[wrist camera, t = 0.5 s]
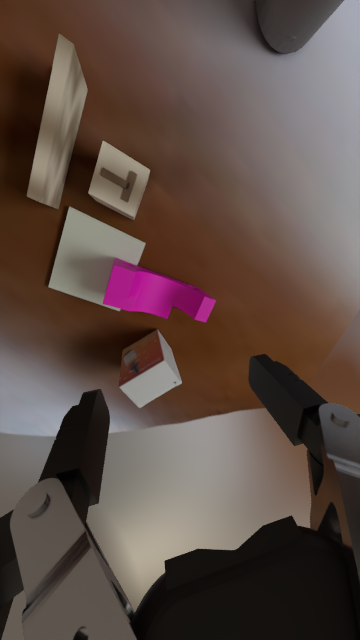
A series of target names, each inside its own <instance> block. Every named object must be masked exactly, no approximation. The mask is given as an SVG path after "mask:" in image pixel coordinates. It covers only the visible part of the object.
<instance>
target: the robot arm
mask: <svg viewBox="0 0 360 640" xmlns="http://www.w3.org/2000/svg"><path fill="white" fill-rule="evenodd" d="M343 1H344V0H256V10H257V18H258V21H259V25H260V29H261V31H262V33H263V35H264V38H265V39H266V41H267V42H268V43H269V45H270V46H271V47H272V48H274V49H275V50H276V51H278V52H281V53H287V54H289V53H293V52H296V51H297V50H299V49H300V48H302V47H303V46H304V45H305V44H306V43H307V42H308V41H309V39H310V38H311V37H312V36H313V35H314V34H315V33H316V32H317V30H318V29H319V28H320V27H321V26H322V25H323V24H324V22H325V21H326V20H327V19H328V18H329V17H330V16H331V15H332V14H333V12H334V11H335V10H336V9H337V8H338V7H339V6H340V5H341V3H342V2H343ZM249 384H250V386H251V388H252V390H253V391H254V393H255V394H256V395H257V397H258V398H259V399H260V401H261V402H262V403H263V405H264V406H265V407H266V409H267V410H268V411H269V413H270V414H271V415H272V417H273V418H274V420H275V421H276V422H277V424H278V425H279V426H280V427H281V429H282V430H283V432H284V433H285V434H286V436H287V437H288V438H289V440H290V441H291V442H292V444H293V445H294V446H296V445H300V444H303V443H304V445H305V446H306V447H307V461H308V472H309V482H310V492H311V511H310V528H306V527H302V526H297V524H296V522H295V520H294V519H293V517H292V516H289V517H286V518H283V519H280V520H278V521H275V522H272V523H269V524H267V525H264V526H262V527H261V528H260V529H259V530H258V531H257V532H255V533H254V534H253V535H252V536H251V537H250V538H249V539H248V540H247V541H246V542H244V543H243V544H242V545H241V546H240V547H239V548H238V549H236V550H211V549H196V550H194V551H191V552H188V553H185V554H182V555H180V556H177V557H174V558H171V559H168V560H165V573H164V574H163V575H162V576H160V577H159V578H158V580H157V581H156V582H155V583H154V584H153V585H152V586H151V588H150V589H149V590H148V592H147V593H146V594H145V596H144V597H143V599H142V601H141V603H140V605H139V606H138V608H137V610H136V612H134V610H133V608H132V606H131V604H130V602H129V600H128V598H127V596H126V595H125V593H124V591H123V589H122V587H121V585H120V584H119V582H118V580H117V579H116V577H115V575H114V573H113V571H112V570H111V568H110V566H109V564H108V562H107V560H106V558H105V556H104V554H103V552H102V550H101V548H100V546H99V545H98V543H97V541H96V539H95V537H94V535H93V533H92V531H91V529H90V527H89V525H88V523H87V522H86V518H87V513H88V507H89V506H91V505H95V504H98V503H99V496H100V489H101V482H102V474H103V467H104V460H105V452H106V446H107V439H108V432H109V425H110V415H109V410H108V407H107V405H106V402H105V399H104V396H103V393H102V391H101V389H97V390H93V391H88V392H84V393H83V394H82V397H81V400H80V403H79V405H76V406H72V408H71V409H70V410H69V411H68V413H67V414H66V415H65V416H64V418H63V421H62V423H61V426H60V430H59V431H58V434H57V436H56V440H55V441H54V444H53V446H52V449H51V451H50V454H49V456H48V459H47V462H46V464H45V467H44V469H43V472H42V474H41V477H40V479H39V481H38V483H37V484H36V485H34V486H33V487H32V488H30V489H29V490H28V491H27V492H26V493H25V494H24V496H23V497H22V498H21V499H20V500H19V502H18V504H17V505H16V507H15V509H14V510H12V511H11V512H9V513H8V514H6V515H4V516H2V517H1V518H0V640H1V638H2V635H3V632H4V628H5V625H6V621H7V618H8V615H9V611H10V608H11V605H12V602H13V598H14V597H15V596H16V595H17V594H19V593H20V592H21V591H23V590H24V591H25V595H26V608H25V609H24V611H23V614H22V628H23V635H24V640H360V414H356V413H354V412H353V411H351V410H350V409H348V408H346V407H344V406H341V405H338V404H334V403H328V402H327V401H326V400H324V399H323V398H322V397H321V396H320V395H319V394H318V393H316V392H315V391H314V390H313V389H312V388H311V387H310V386H308V385H307V384H306V383H305V382H304V381H303V380H301V379H300V378H299V377H298V376H297V375H296V374H294V372H293V371H291V370H290V369H289V368H288V367H287V366H285V365H283V364H281V363H279V362H277V361H275V362H274V361H273V360H271V359H270V358H269V357H268V356H267V355H266V354H262V355H257V356H253V357H251V358H250V364H249Z"/></svg>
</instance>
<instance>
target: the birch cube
mask: <svg viewBox="0 0 360 640" xmlns="http://www.w3.org/2000/svg"><path fill="white" fill-rule="evenodd" d="M149 173H150V170H149V169H148V168H146V167H144V166H143V165H141V164H140V163H138V162H136V161H135V160H133V159H132V158H130V157H128V156H127V155H125V154H124V153H122V152H121V151H119V150H117V149H116V148H114V147H113V146H111V145H109V144H108V143H106V142H105V141H103V142H102V146H101V149H100V153H99V157H98V160H97V164H96V167H95V171H94V174H93V178H92V181H91V185H90V188H89V192H88V193H89V194H90V195H91V196H92V197H93V198H94V199H95V200H96V201H97V202H99V203H101V204H103V205H105V206H106V207H108V208H110V209H112V210H114V211H116V212H118V213H120V214H122V215H124V216H126V217H128V218H130V219H132V220H134V218H135V216H136V213H137V210H138V207H139V204H140V201H141V199H142V196H143V193H144V190H145V187H146V184H147V181H148V177H149Z"/></svg>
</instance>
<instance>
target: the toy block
mask: <svg viewBox="0 0 360 640" xmlns="http://www.w3.org/2000/svg"><path fill="white" fill-rule="evenodd" d="M215 302H216V300H215V299H213V298H212V297H210V296H209V295H208V294H206V293H205V292H203V291H202V290H201V289H199V288H197V287H195V286H192V285H189V284H186V283H184V282H181V281H178V280H175V279H173V278H170V277H167V276H165V275H162V274H159V273H156V272H154V271H151V270H148V269H145V268H143V267H140V266H137V265H134V264H132V263H129V262H126V261H124V260H121V259H118V258H115V260H114V263H113V267H112V270H111V274H110V278H109V281H108V285H107V288H106V292H105V295H104V300H103V304H105V305H108V306H112V307H116V308H120V309H123V310H127V311H140V312H147V313H151V314H155V315H158V316H161V317H163V318H166V319H167V318H168V316H169V313H170V311H171V308H172V306H174V307H176V308H178V309H180V310H182V311H184V312H186V313H187V314H189V315H190V316H191V317H193V318H194V319H196V320H199V321H202V322H206V321H207V319H208V317H209V314H210V312H211V310H212V308H213V306H214V304H215Z"/></svg>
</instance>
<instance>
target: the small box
mask: <svg viewBox="0 0 360 640" xmlns="http://www.w3.org/2000/svg"><path fill="white" fill-rule="evenodd" d="M180 384H182V381H181V378H180V375H179V372H178V369H177V366H176V363H175V360H174V356H173V353H172V350H171V348H170V347H169V345H168V344H167V342H166V341H165V339H164V338H163V336H162V335H161V334H160V332H159V331H158V329H156V330H155V331H153V332H152V333H150V334H149V335H147V336H145V337H144V338H142V339H140V340H138V341H137V342H135V343H133V344H132V345H130V346H128V347H126V348H125V349H123V352H122V361H121V371H120V380H119V388H120V389H121V390H122V391H123V392H124V393H125V394H126V395H127V396H128V397H129V398H130V399H131V400H132V401H133V402H134V403H135V404H136V405H137V406H138V408H141V407H143V406H144V405H145V404H147V403H149V402H150V401H152V400H154V399H155V398H157V397H159V396H160V395H162V394H164V393H165V392H167V391H169V390H170V389H172V388H174V387H176V386H178V385H180Z"/></svg>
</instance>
